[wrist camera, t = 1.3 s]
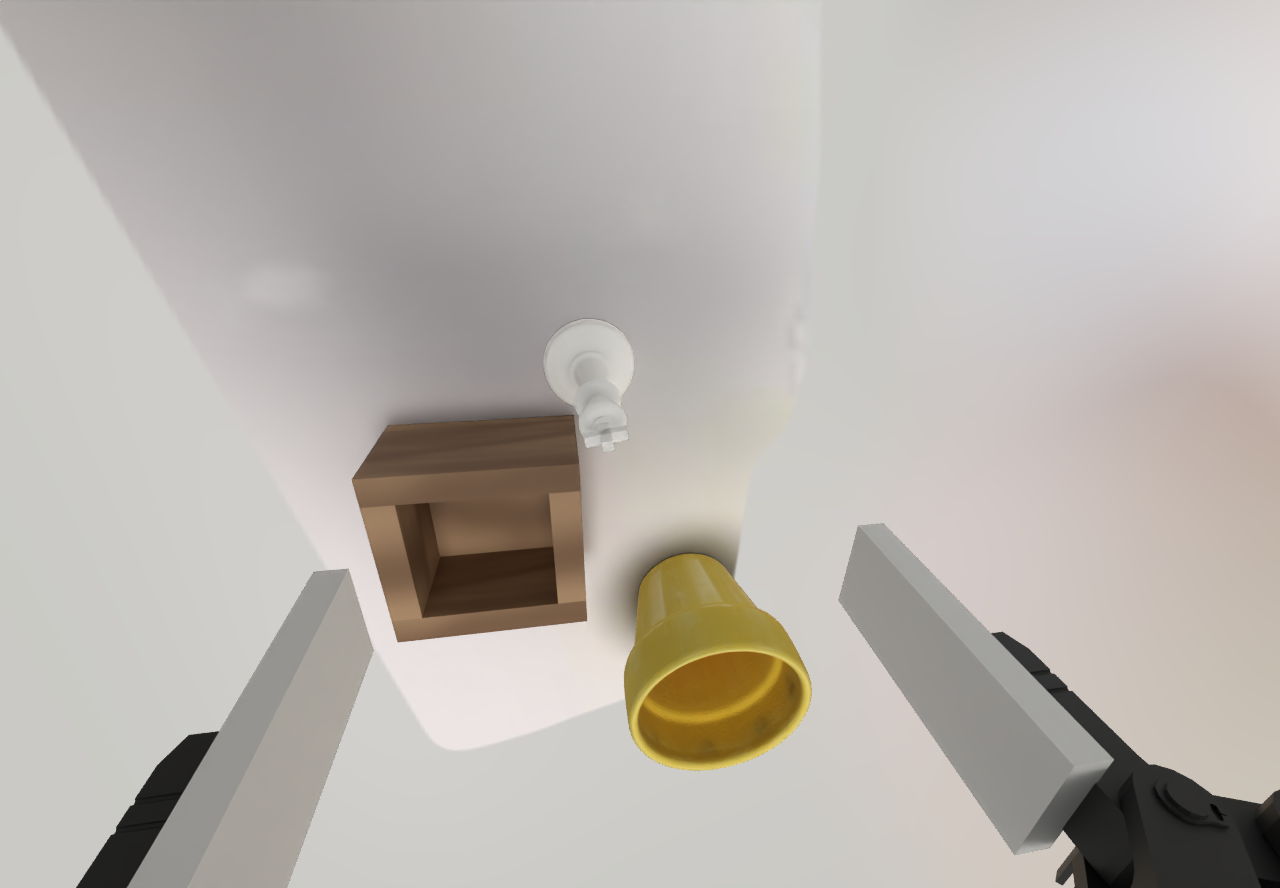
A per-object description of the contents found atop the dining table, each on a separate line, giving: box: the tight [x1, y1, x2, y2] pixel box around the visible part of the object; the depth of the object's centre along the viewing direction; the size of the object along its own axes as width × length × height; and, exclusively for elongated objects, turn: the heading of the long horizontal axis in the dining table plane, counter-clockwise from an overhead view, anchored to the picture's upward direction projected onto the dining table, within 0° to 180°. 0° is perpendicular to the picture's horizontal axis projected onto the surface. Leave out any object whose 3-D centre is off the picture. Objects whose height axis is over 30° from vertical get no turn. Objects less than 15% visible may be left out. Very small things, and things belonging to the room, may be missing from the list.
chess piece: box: [543, 319, 634, 453], centre depth 24 cm, size 5×5×10 cm
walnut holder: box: [352, 415, 587, 642], centre depth 28 cm, size 10×10×6 cm
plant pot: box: [624, 554, 812, 771], centre depth 32 cm, size 10×10×10 cm
